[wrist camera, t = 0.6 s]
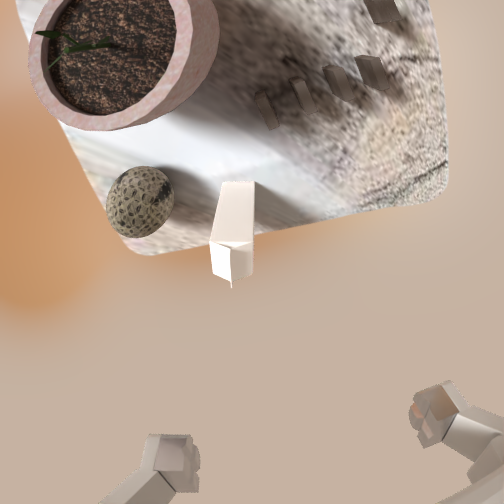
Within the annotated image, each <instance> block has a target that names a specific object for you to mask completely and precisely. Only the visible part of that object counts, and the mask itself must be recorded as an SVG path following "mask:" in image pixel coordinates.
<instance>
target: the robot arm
mask: <svg viewBox="0 0 504 504" xmlns="http://www.w3.org/2000/svg"><path fill="white" fill-rule="evenodd" d="M413 400H414V403H413V405H412V406H411V407H410V410H409V419H410V423H411V425H412V427H413V428H414V429H416V430H418V431H419V432H418V438H419V440H420V442H421V444H422V446H423V448H427V447H429V446H432V445H434V444H436V443H439V442H441V441H442V443H444V444H446V445H447V446H449V447H451V448H452V449H454V450H455V451H457V452H459V453H460V454H462V455H463V456H465V457H467V458H468V459H470V460H472V461H473V462H475V463H474V464H473V465H472V466H471V468H470V469H469V470H468V472H467V475H468V477H469V479H470V481H471V483H472V485H470V486H469V487H467V488H465V489H463V490H461V491H460V492H458V493H456V494H454V495H452V496H450V497H448V498H446V499H444V500H442V501H440V502H438V503H436V504H504V418H503V417H501V416H498V415H496V414H493V413H491V412H488V411H485V410H483V409H481V408H478V407H476V406H471V407H470V406H469V404H468V403H467V401H466V400H465V399H464V397H463V396H462V395H461V393H460V392H459V390H458V389H457V388H456V386H455V385H454V384H453V383H452V381H450V380H448V381H445V382H443V383H440V384H438V385H435V386H432V387H430V388H427V389H424V390H422V391H419V392H417V393H416V394H415V395H414V398H413ZM199 469H200V454H199V451H198V448H197V446H195V445H194V444H193V439H192V437H191V435H164V434H149V435H148V437H147V439H146V443H145V448H144V453H143V456H142V461H141V466H140V470H135V471H134V472H133V473H132V474H131V475H129V476H128V477H127V478H126V479H125V480H124V481H123V482H122V483H121V484H120V485H119V486H118V487H117V488H115V489H114V490H113V491H112V492H111V493H110V494H109V495H107V496H106V497H105V498H104V499H103V500H102V501H101V502H100V503H98V504H168V503H169V502H170V501H171V500H172V498H173V497H174V496H175V494H176V492H198V490H199V477H198V475H197V474H196V472H197V471H198V470H199Z"/></svg>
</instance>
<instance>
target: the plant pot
mask: <svg viewBox="0 0 504 504" xmlns="http://www.w3.org/2000/svg"><path fill="white" fill-rule="evenodd" d="M219 37H220V29H219V21H218V13H217V10H216V8H215V6H214V4H213V2H212V0H49V1H48V2H47V3H46V4H45V6H44V8H43V10H42V11H41V13H40V15H39V17H38V19H37V21H36V23H35V26H34V29H33V33H32V36H31V40H30V44H29V58H28V61H29V62H28V67H29V72H30V77H31V82H32V85H33V87H34V90H35V92H36V94H37V96H38V98H39V100H40V102H41V103H42V104H43V105H44V106H45V108H47V110H48V111H49V112H50V113H51V114H52V115H53V116H54V117H56V118H57V119H59V120H60V121H62V122H63V123H65V124H66V125H69V126H72V127H75V128H79V129H82V130H85V131H113V130H119V129H123V128H127V127H132V126H136V125H141V124H145V123H148V122H150V121H152V120H154V119H156V118H158V117H160V116H162V115H164V114H166V113H169V112H171V111H172V110H174V109H175V108H176V107H177V106H179V105H180V104H181V103H182V102H184V101H185V100H186V99H188V98H189V97H190V96H191V95H192V94H193V93H194V92H195V91H196V89H197V88H198V87H199V85H200V84H201V83H202V82H203V80H204V79H205V78H206V77H207V75H208V73H209V70H210V68H211V66H212V64H213V62H214V59H215V57H216V55H217V49H218V43H219Z"/></svg>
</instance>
